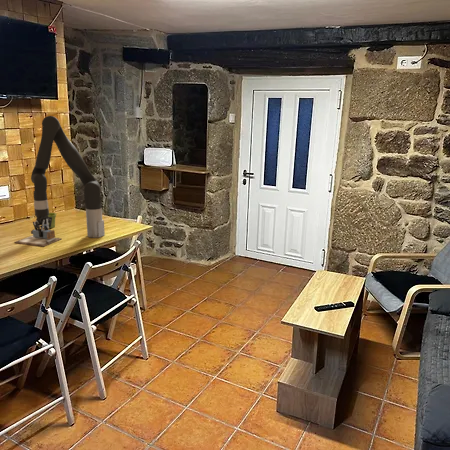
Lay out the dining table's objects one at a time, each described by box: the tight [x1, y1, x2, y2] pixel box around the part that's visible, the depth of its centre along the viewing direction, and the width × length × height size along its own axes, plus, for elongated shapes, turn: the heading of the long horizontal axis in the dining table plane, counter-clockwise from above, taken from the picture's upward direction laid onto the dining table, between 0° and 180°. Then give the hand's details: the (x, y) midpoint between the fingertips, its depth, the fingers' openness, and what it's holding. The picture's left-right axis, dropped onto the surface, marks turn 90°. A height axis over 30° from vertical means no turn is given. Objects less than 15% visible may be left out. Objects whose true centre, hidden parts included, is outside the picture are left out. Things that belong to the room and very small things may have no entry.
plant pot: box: [48, 212, 57, 229], centre depth 271 cm, size 9×9×9 cm
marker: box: [30, 228, 56, 239], centre depth 247 cm, size 14×4×4 cm, turn 73°
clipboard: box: [14, 234, 62, 247], centre depth 243 cm, size 20×15×2 cm
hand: (44, 235), depth 247 cm, fingers closed on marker, 4 cm apart
